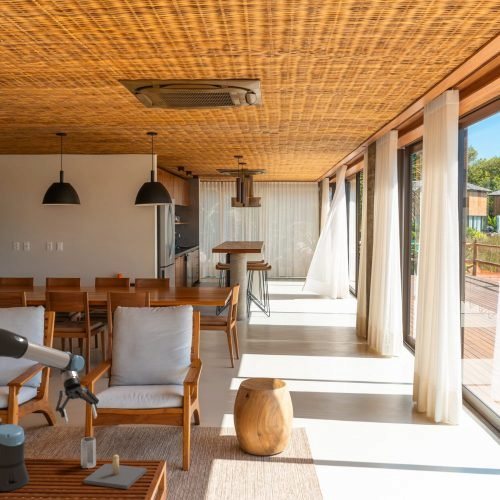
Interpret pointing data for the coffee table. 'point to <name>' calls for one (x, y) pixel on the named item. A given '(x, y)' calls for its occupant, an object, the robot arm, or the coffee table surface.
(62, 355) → the robot arm
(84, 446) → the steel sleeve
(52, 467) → the coffee table surface
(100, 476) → the post plate
